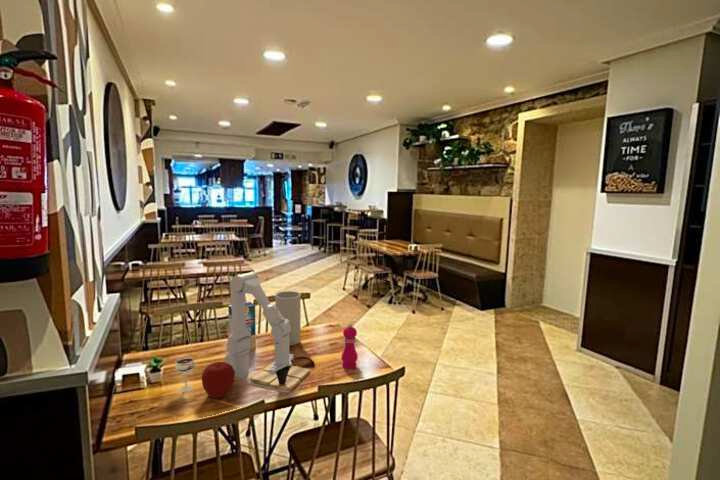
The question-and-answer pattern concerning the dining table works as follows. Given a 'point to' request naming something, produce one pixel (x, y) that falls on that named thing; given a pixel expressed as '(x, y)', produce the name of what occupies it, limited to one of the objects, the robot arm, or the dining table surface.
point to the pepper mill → (349, 348)
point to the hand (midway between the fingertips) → (282, 383)
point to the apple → (218, 379)
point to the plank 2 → (288, 384)
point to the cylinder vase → (290, 312)
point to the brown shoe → (301, 358)
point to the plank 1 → (263, 378)
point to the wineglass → (185, 370)
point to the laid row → (292, 371)
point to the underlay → (268, 386)
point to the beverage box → (249, 321)
